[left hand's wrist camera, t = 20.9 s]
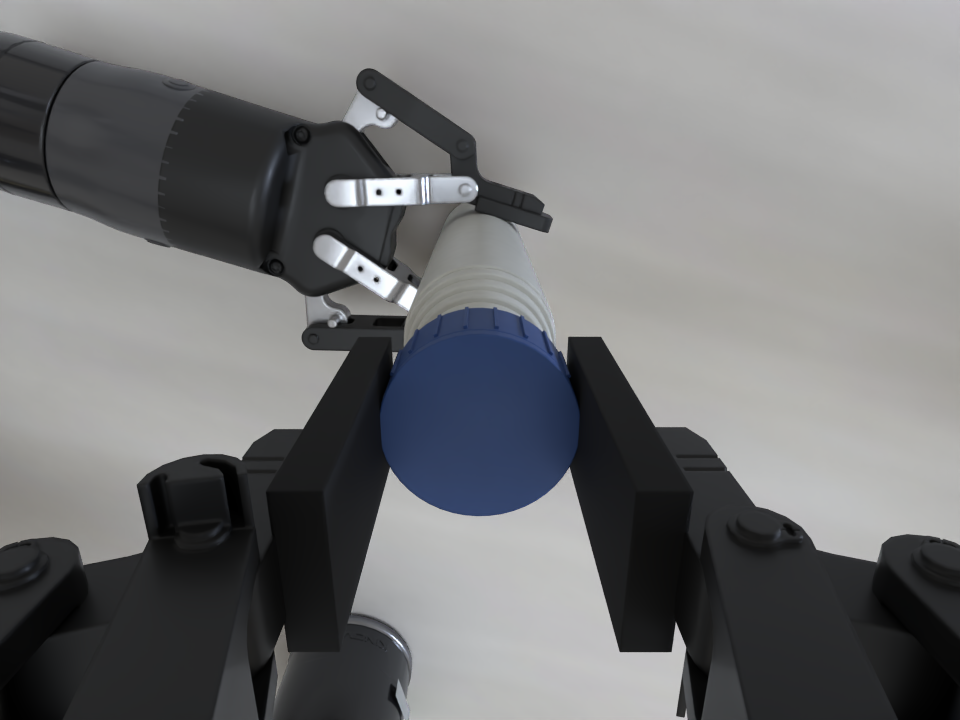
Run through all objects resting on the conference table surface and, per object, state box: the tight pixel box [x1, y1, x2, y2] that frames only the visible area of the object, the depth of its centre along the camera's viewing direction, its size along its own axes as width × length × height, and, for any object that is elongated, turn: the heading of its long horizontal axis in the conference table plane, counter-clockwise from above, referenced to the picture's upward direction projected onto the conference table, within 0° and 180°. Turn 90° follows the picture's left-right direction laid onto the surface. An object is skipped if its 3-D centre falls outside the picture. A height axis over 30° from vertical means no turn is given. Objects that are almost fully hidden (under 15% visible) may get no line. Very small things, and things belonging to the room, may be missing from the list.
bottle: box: [404, 203, 556, 347], centre depth 25 cm, size 4×4×25 cm
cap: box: [380, 307, 580, 516], centre depth 13 cm, size 4×4×2 cm
